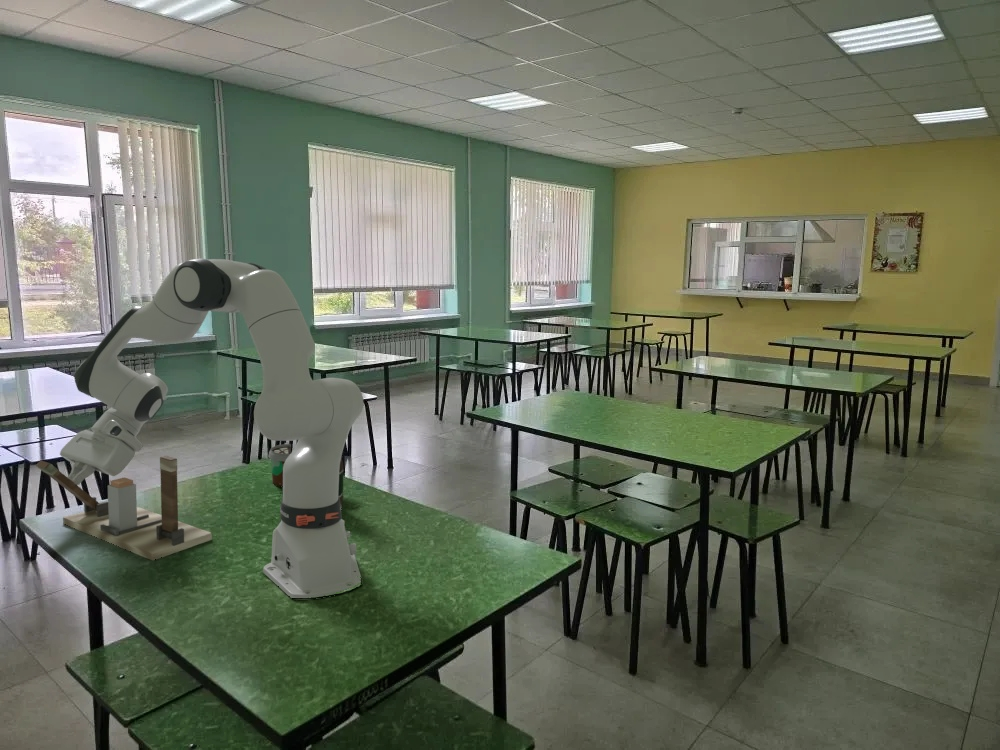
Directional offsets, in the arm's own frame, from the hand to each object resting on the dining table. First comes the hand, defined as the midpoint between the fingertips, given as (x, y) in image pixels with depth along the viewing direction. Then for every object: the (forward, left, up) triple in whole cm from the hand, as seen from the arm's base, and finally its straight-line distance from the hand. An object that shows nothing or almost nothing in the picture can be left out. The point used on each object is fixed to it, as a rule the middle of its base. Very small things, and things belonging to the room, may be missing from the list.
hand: (71, 482), depth 152 cm
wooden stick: (+2, -5, -7) cm, 9 cm away
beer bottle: (-12, -55, -10) cm, 58 cm away
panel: (-9, -12, -10) cm, 19 cm away
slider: (-11, -10, -8) cm, 17 cm away
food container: (+16, -49, -11) cm, 53 cm away
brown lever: (-22, -19, -7) cm, 29 cm away
